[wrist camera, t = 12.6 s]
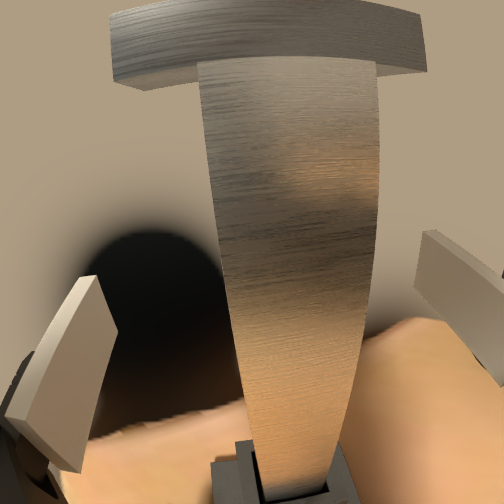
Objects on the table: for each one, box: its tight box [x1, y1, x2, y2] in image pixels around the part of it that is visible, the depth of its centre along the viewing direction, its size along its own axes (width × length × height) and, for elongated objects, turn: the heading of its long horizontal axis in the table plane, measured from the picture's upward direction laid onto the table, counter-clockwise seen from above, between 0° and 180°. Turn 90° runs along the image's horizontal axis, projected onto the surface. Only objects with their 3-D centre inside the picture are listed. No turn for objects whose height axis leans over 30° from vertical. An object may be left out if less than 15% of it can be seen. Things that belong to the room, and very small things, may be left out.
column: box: [110, 0, 427, 504], centre depth 12 cm, size 7×4×28 cm, turn 97°
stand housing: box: [211, 440, 361, 504], centre depth 18 cm, size 14×14×14 cm
